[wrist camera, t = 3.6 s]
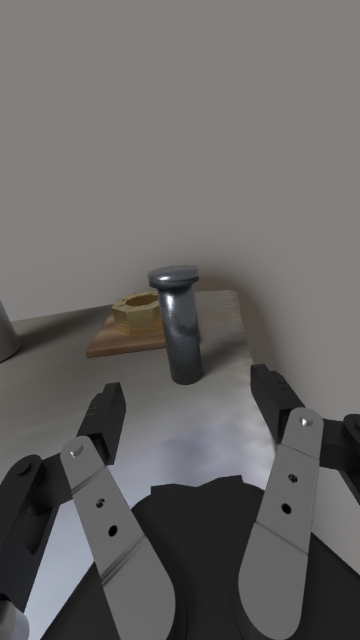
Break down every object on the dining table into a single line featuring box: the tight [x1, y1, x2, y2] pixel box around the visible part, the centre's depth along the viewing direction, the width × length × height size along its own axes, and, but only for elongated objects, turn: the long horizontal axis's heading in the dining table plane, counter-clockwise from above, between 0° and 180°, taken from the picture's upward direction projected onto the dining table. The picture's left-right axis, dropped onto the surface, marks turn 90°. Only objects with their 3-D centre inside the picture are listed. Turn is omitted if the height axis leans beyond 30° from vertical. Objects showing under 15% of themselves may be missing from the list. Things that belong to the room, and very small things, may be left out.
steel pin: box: [147, 265, 202, 385], centre depth 23 cm, size 5×5×12 cm
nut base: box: [86, 291, 166, 358], centre depth 38 cm, size 16×16×5 cm
